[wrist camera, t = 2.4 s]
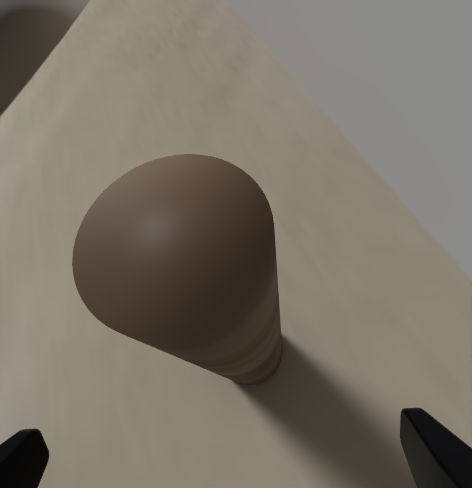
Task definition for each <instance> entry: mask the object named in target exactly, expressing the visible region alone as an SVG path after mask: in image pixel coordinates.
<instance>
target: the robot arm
mask: <svg viewBox="0 0 472 488" xmlns="http://www.w3.org/2000/svg"><path fill="white" fill-rule="evenodd" d="M400 439H401V444H402V447H403V450H404V453H405V456H406V458H407V461H408V464H409V467H410V470H411V472H412V475H413V478H414V481H415V484H416V486H417V488H472V448H470V447H469V446H468V445H467V444H465V443H464V442H463V441H462V440H461V439H459V438H458V437H457V436H456V435H454V434H453V433H452V432H451V431H449V430H448V429H447V428H446V427H444V426H443V425H442V424H441V423H439V422H438V421H437V420H436V419H434V418H433V417H432V416H431V415H429V414H428V413H427V412H426V411H424V410H423V409H421V408H404V409H402V411H401V421H400ZM48 459H49V450H48V448H47V445H46V443H45V441H44V439H43V436H42V434H41V432H40V431H39V430H38V429H24V430H21V431H19V432H17V433H16V434H14V435H13V436H12V437H10V438H9V439H8V440H6V441H5V442H3V443H2V444H1V445H0V488H38V485H39V483H40V480H41V478H42V475H43V473H44V470H45V468H46V466H47V463H48Z"/></svg>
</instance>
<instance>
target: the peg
mask: <svg viewBox="0 0 472 488" xmlns="http://www.w3.org/2000/svg"><path fill="white" fill-rule="evenodd" d="M72 265H73V275H74V280H75V284H76V287H77V290H78V292H79V294H80V297H81V299H82V300H83V302H84V303H85V305H86V307H87V308H88V309H89V311H90V312H91V313H92V314H93V315H94V316H95V317H96V318H97V319H98V320H100V321H101V322H102V323H103V324H105V325H106V326H108V327H110V328H111V329H113V330H115V331H117V332H119V333H121V334H124V335H126V336H128V337H131V338H133V339H136V340H138V341H140V342H143V343H145V344H147V345H150V346H152V347H155V348H157V349H159V350H162V351H164V352H166V353H169V354H171V355H173V356H176V357H178V358H181V359H183V360H185V361H188V362H190V363H192V364H195V365H197V366H200V367H202V368H204V369H207V370H209V371H211V372H214V373H216V374H219V375H221V376H223V377H226V378H228V379H230V380H233V381H235V382H238V383H241V384H245V385H253V384H258V383H261V382H263V381H265V380H267V379H268V378H269V377H271V376H272V375H273V374H274V372H275V371H276V370H277V368H278V366H279V364H280V361H281V356H282V342H281V326H280V310H279V295H278V279H277V264H276V248H275V232H274V222H273V215H272V212H271V208H270V205H269V203H268V200H267V198H266V196H265V194H264V193H263V191H262V190H261V188H260V187H259V185H258V184H257V183H256V182H255V181H254V180H253V179H252V178H251V177H250V176H249V175H248V174H247V173H245V172H244V171H243V170H242V169H240V168H238V167H237V166H235V165H233V164H231V163H229V162H227V161H224V160H222V159H218V158H215V157H211V156H205V155H194V154H185V155H174V156H168V157H163V158H160V159H156V160H153V161H150V162H147V163H145V164H143V165H140V166H138V167H136V168H134V169H132V170H131V171H129V172H127V173H126V174H124V175H123V176H121V177H120V178H119V179H117V180H116V181H114V182H113V183H112V184H111V185H110V186H109V187H108V188H107V189H105V190H104V191H103V193H102V194H101V195H100V196H99V197H98V198H97V199H96V201H95V202H94V203H93V205H92V206H91V207H90V209H89V210H88V212H87V214H86V215H85V217H84V219H83V221H82V223H81V225H80V228H79V230H78V233H77V236H76V239H75V244H74V250H73V263H72Z"/></svg>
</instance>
